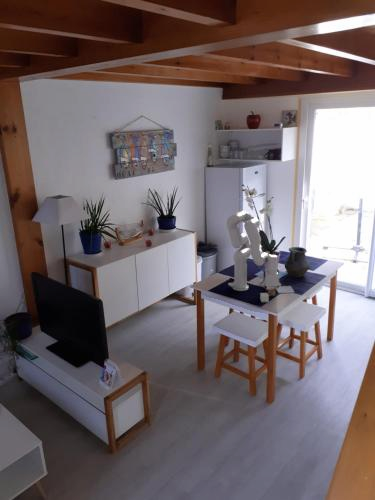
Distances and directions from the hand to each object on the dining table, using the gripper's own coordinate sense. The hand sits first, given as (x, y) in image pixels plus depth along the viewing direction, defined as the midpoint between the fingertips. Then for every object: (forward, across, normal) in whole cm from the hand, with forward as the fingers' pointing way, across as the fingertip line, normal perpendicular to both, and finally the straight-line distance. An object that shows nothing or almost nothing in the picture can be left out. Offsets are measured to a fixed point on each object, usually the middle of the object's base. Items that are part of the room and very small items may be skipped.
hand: (271, 293), depth 308 cm
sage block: (+1, -7, -10) cm, 12 cm away
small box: (+1, +5, +24) cm, 25 cm away
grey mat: (+1, +12, +7) cm, 14 cm away
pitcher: (+1, +28, +33) cm, 43 cm away
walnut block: (+1, 0, 0) cm, 1 cm away
